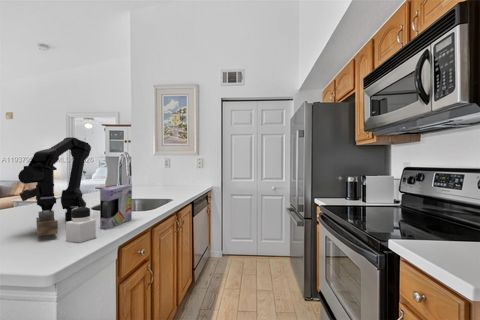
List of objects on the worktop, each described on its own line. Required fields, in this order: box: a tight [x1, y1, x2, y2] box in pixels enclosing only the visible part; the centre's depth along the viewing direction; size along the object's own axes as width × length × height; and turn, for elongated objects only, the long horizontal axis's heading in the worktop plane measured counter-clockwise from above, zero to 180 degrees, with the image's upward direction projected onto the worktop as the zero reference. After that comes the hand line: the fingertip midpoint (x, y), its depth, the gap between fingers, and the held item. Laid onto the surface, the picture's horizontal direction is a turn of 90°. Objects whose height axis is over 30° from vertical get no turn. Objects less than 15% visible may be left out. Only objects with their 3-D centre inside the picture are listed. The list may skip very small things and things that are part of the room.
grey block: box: [38, 209, 55, 222], centre depth 111 cm, size 5×4×6 cm
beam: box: [35, 217, 59, 237], centre depth 111 cm, size 6×23×7 cm, turn 38°
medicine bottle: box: [65, 206, 97, 244], centre depth 104 cm, size 7×7×12 cm
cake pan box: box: [99, 184, 133, 230], centre depth 127 cm, size 19×5×18 cm, turn 170°
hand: (45, 218), depth 114 cm, fingers closed
